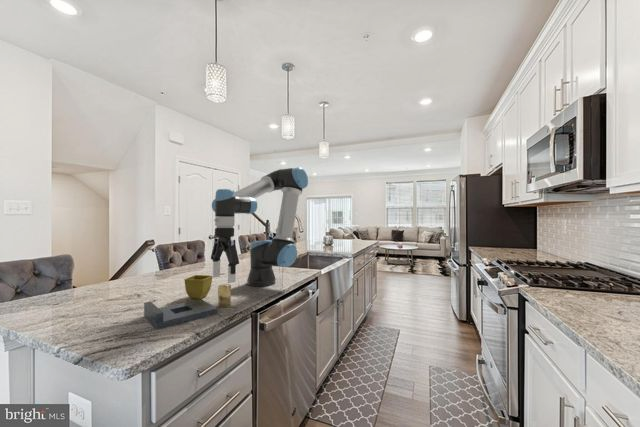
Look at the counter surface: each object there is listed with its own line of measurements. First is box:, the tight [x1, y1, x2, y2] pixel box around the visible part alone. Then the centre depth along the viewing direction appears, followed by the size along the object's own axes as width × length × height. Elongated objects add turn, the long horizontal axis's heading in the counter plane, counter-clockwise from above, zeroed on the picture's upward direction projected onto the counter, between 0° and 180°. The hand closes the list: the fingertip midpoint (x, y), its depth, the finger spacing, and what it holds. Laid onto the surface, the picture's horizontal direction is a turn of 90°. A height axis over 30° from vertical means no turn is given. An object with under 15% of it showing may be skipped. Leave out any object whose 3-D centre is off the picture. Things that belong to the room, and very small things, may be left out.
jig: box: [143, 298, 219, 331], centre depth 97 cm, size 20×16×5 cm
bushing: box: [217, 283, 232, 308], centre depth 108 cm, size 5×5×8 cm
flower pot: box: [184, 274, 213, 300], centre depth 119 cm, size 9×9×9 cm
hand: (223, 279), depth 108 cm, fingers open, 13 cm apart
